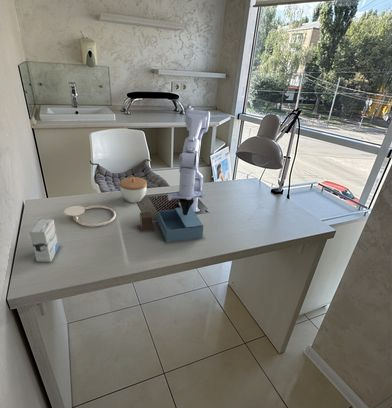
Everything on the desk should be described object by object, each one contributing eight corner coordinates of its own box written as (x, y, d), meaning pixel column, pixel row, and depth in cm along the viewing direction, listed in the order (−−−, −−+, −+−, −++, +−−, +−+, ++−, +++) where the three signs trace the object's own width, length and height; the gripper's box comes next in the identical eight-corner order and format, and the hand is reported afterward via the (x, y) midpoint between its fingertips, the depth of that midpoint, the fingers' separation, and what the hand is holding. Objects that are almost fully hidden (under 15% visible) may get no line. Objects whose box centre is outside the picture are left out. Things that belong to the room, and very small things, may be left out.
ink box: (44, 246, 105) (38, 218, 99) (59, 247, 105) (54, 218, 99) (35, 261, 97) (28, 232, 91) (51, 262, 98) (44, 232, 92)
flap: (174, 208, 125) (174, 208, 125) (190, 207, 127) (191, 206, 127) (185, 227, 112) (185, 227, 112) (203, 225, 115) (203, 225, 115)
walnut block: (139, 226, 122) (139, 212, 118) (150, 224, 123) (150, 211, 120) (141, 231, 118) (141, 218, 115) (152, 230, 120) (152, 216, 116)
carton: (157, 222, 126) (157, 211, 123) (190, 218, 130) (191, 208, 128) (166, 242, 113) (166, 230, 110) (202, 238, 118) (203, 226, 115)
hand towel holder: (120, 214, 120) (66, 222, 111) (120, 223, 122) (67, 232, 114) (110, 196, 133) (61, 202, 124) (111, 205, 135) (63, 211, 126)
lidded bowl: (151, 197, 146) (151, 176, 140) (139, 207, 135) (138, 185, 130) (129, 191, 149) (128, 171, 143) (115, 201, 138) (113, 180, 133)
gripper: (171, 188, 107) (170, 220, 114) (208, 186, 112) (204, 217, 119) (166, 181, 113) (165, 212, 120) (201, 179, 117) (199, 208, 124)
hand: (184, 214), depth 119 cm, fingers closed
